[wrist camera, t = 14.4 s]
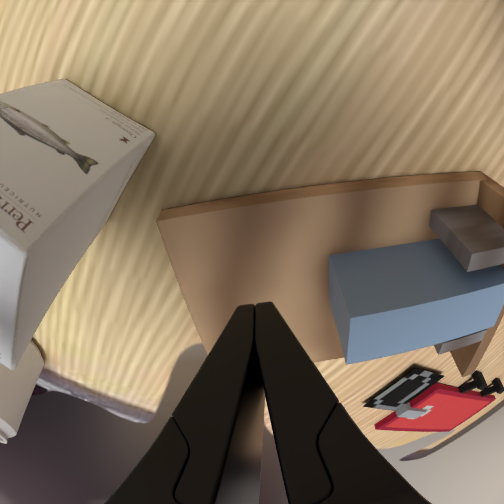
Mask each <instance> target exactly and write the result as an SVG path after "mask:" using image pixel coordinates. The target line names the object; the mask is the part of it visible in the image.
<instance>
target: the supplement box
mask: <svg viewBox="0 0 504 504" xmlns="http://www.w3.org/2000/svg"><path fill="white" fill-rule="evenodd" d="M154 137H155V133H154V132H153V131H151V130H149V129H147V128H145V127H144V126H142V125H140V124H138V123H136V122H135V121H133V120H131V119H129V118H128V117H126V116H124V115H123V114H121V113H119V112H117V111H116V110H114V109H113V108H111V107H109V106H108V105H106V104H104V103H103V102H101V101H99V100H98V99H96V98H95V97H93V96H91V95H90V94H88V93H87V92H85V91H83V90H82V89H80V88H79V87H77V86H75V85H74V84H72V83H71V82H69V81H68V80H66V79H61V80H56V81H50V82H45V83H41V84H36V85H32V86H28V87H24V88H20V89H16V90H13V91H9V92H5V93H2V94H0V363H2V364H3V365H5V366H6V367H8V368H9V369H11V370H15V369H16V368H17V366H18V364H19V362H20V360H21V358H22V356H23V354H24V352H25V350H26V348H27V346H28V344H29V342H30V340H31V339H32V337H33V335H34V333H35V331H36V330H37V328H38V326H39V324H40V322H41V321H42V319H43V317H44V316H45V314H46V312H47V310H48V309H49V307H50V305H51V304H52V302H53V301H54V299H55V297H56V296H57V294H58V292H59V291H60V289H61V288H62V286H63V285H64V283H65V281H66V280H67V278H68V277H69V275H70V274H71V272H72V271H73V269H74V268H75V266H76V265H77V263H78V262H79V260H80V259H81V257H82V256H83V254H84V253H85V252H86V250H87V249H88V247H89V246H90V244H91V243H92V242H93V240H94V239H95V238H96V236H97V235H98V233H99V232H100V231H101V229H102V228H103V227H104V225H105V224H106V222H107V220H108V218H109V216H110V214H111V212H112V210H113V209H114V207H115V205H116V203H117V201H118V199H119V197H120V196H121V194H122V192H123V190H124V188H125V187H126V185H127V183H128V181H129V179H130V178H131V176H132V174H133V172H134V171H135V169H136V167H137V165H138V164H139V162H140V160H141V159H142V157H143V155H144V154H145V152H146V150H147V149H148V147H149V145H150V144H151V142H152V140H153V139H154Z"/></svg>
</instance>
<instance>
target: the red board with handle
mask: <svg viewBox="0 0 504 504" xmlns="http://www.w3.org/2000/svg"><path fill="white" fill-rule="evenodd" d="M443 377H444V376H443V375H439V374H436V373H432V372H429V371H425V370H422V369H418V368H415V369H414V370H412V371H411V372H410V373H409V374H407V375H406V376H405V377H403V378H402V379H401V380H399V381H398V382H397V383H395V384H394V385H393V386H391V387H390V388H388V389H387V390H386V391H384V392H383V393H381V394H380V395H379V396H377V397H376V398H374V399H373V400H371V401H370V402H368V403H367V404H365V405H364V407H370V408H377V409H384V410H392V411H394V412H393V413H391V414H390V415H388V416H387V417H385V418H384V419H382V420H381V421H379V422H377V423H376V424H375V428H376V429H377V430H393V431H422V432H444V431H450V430H452V429H453V428H455V427H457V426H458V425H460V424H461V423H463V422H464V421H466V420H467V419H469V418H470V417H472V416H473V415H475V414H476V413H477V412H479V411H480V410H482V409H483V408H484V407H486V406H487V405H488V404H490V403H491V402H492V401H494V400H495V399H496V398H495V396H494V395H489V394H492V393H494V392H497V393H499V394H501V393H502V392H503V391H504V387H503V385H502V383H501V381H500V379H499V378H495V379H494V380H493V381H492V383H493V385H494V386H492V387H489V388H487V389H485V390H483V389H484V388H486V387H487V383H486V381H485V379H484V377H483V375H482V373H481V372H479V371H477V370H476V371H475V372H474V373H473V374H472V377H473V379H474V381H472V382H469V383H467V384H465V385H462V386H460V387H453V386H449V385H444V384H440V383H436V382H438V381H439V380H440V379H441V378H443ZM474 388H478V389H480V390H483V391H481V392H476V391H472V389H474Z"/></svg>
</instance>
